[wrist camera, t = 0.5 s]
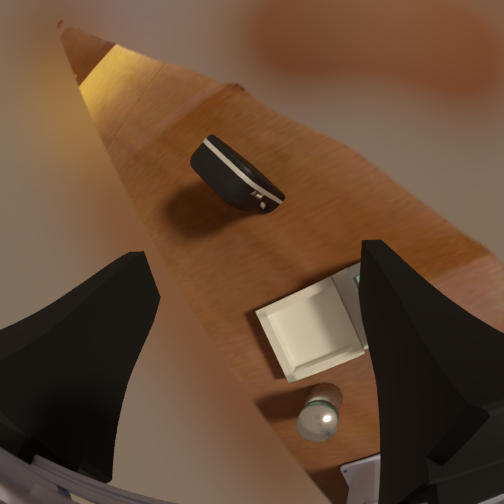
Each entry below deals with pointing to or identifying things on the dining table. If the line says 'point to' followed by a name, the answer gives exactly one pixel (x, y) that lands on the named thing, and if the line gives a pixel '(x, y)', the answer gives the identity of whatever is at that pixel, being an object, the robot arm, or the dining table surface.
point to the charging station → (317, 325)
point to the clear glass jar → (320, 412)
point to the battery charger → (234, 177)
